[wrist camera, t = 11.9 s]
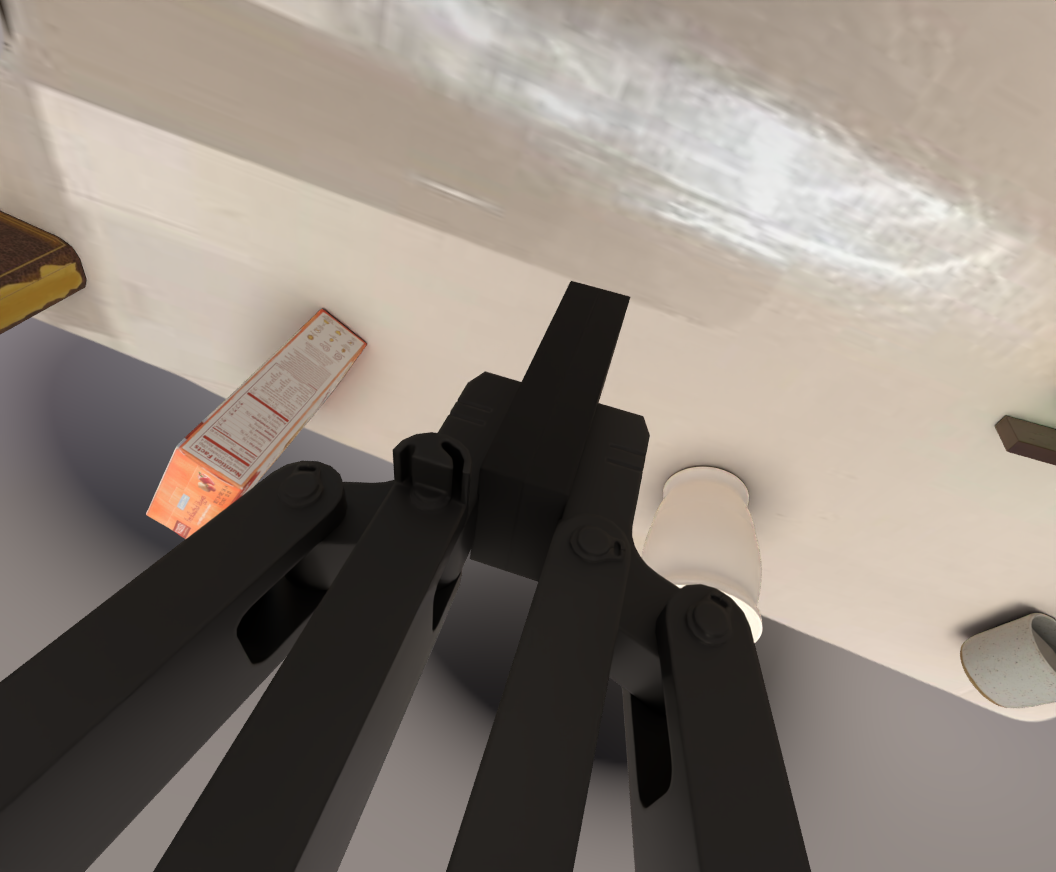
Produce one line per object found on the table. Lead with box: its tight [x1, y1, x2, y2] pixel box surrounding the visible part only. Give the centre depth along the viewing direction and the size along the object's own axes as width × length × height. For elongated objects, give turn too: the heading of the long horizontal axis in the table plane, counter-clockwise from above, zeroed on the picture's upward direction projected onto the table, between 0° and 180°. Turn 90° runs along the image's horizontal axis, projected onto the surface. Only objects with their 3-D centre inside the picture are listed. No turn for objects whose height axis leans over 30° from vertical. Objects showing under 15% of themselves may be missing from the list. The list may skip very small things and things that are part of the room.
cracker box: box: [146, 309, 367, 539], centre depth 53 cm, size 14×6×21 cm, turn 141°
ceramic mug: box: [960, 613, 1056, 708], centre depth 56 cm, size 11×8×8 cm
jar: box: [642, 467, 762, 643], centre depth 52 cm, size 11×10×15 cm
